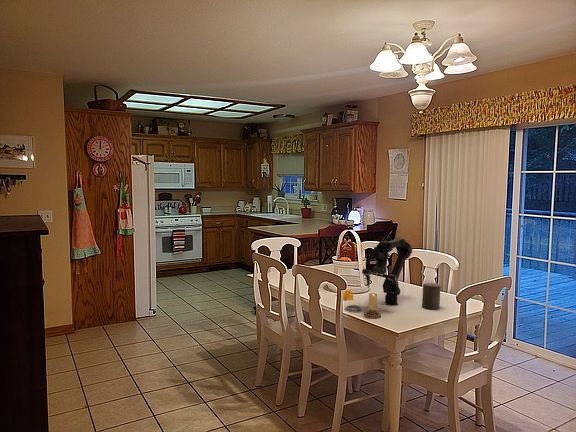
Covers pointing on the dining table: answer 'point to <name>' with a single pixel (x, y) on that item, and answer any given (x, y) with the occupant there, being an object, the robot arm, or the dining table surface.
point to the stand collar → (372, 315)
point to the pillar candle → (431, 296)
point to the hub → (359, 309)
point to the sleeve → (372, 304)
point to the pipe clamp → (347, 295)
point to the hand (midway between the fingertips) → (376, 289)
